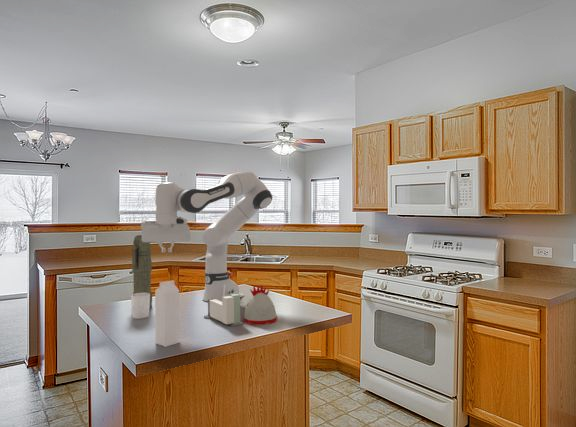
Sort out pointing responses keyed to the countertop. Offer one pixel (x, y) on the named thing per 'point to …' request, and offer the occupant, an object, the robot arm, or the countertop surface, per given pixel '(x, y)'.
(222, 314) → the cream l-shaped block
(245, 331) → the countertop surface
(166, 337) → the milk
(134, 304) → the white cup
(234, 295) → the latch post
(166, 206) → the robot arm
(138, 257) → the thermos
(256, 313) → the kitchen timer
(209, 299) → the hinge post
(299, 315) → the countertop surface
